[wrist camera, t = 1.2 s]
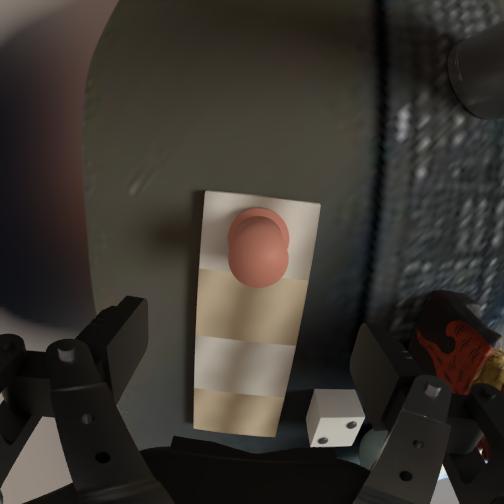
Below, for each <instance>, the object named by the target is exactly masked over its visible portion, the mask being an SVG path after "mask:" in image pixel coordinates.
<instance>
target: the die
mask: <svg viewBox="0 0 504 504" xmlns="http://www.w3.org/2000/svg"><path fill="white" fill-rule="evenodd" d="M364 419H365V415H364V412H363V410H362V407H361V404H360V402H359V399H358V396H357V394H356V391H355V390H342V389H314V393H313V396H312V399H311V403H310V406H309V409H308V413H307V416H306V423H307V430H308V436H309V442H310V447H338V446H352V444H353V442H354V440H355V438H356V436H357V434H358V432H359V430H360V427H361V425H362V423H363V421H364Z"/></svg>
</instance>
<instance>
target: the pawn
mask: <svg viewBox="0 0 504 504" xmlns="http://www.w3.org/2000/svg"><path fill="white" fill-rule="evenodd" d="M228 245H229V249H230V251H229V255H228V263H229V267H230V270H231V272H232V274H233V275H234V277H235V278H236V279H237V280H238V281H239V282H241V283H242V284H244V285H246V286H249V287H253V288H264V287H268V286H271V285H273V284H275V283H276V282H278V281H279V280H280V279H281V278H282V277H283V275H284V274H285V272H286V270H287V267H288V262H289V255H288V251H287V249H288V246H289V232H288V228H287V226H286V224H285V222H284V220H283V219H282V218H281V217H280V216H279V215H278V214H277V213H276V212H274V211H272V210H270V209H267V208H262V207H255V208H250V209H247V210H245V211H243V212H242V213H240V214H239V215H238V216H237V217H236V218H235V219H234V221H233V222H232V224H231V226H230V229H229V232H228Z"/></svg>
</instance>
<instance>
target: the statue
mask: <svg viewBox="0 0 504 504" xmlns="http://www.w3.org/2000/svg"><path fill="white" fill-rule="evenodd" d="M459 284H460V283H459ZM480 310H481V308H480V305H479V304H478V303H477V302H476V301H475V300H473V299H471V298H470V297H469V296H467V295H464V294H462V293H461V294H460V293H455V292H451V291H445V290H439V291H435V292H433V293H432V294H431V295H430V296H429V298H428V299H427V301H426V302H425V305H424V307H423V309H422V311H421V313H420V317H419V319H418V321H417V324H416V326H415V328H414V331H413V334H412V338H411V340H410V343H409V347H408V353H409V354H410V355H411V356H412V359H414V360H415V362H416V363H417V365H418V366H419V367H420V369H421V370H422V371H423V373H424V374H425V375H432V376H436V377H438V378H441V379H442V380H444V381H445V382H447V383H448V384H449V386H450V387H451V389H452V393H455V394H463V395H468V394H469V392H470V390H471V388H472V386H473V385H474V384H476V383H487V384H490V385H492V386H494V387H496V388H497V389H498V390H499V391H500V392H501V393H502V394H503V395H504V353H503V351H502V347H501V346H502V336H501V335H500V334H498V333H497V332H496V331H494V330H491V329H489V328H488V325H487V324H485V323H482V321H481V320H479V314H480ZM476 447H477V449H478V450H479V451H480V450H483V451H482V458H483V459H484V461H489V460H490V458H491V454H492V448H491V445H490V444H489V442H488V440H487V439H486V437H485V435H483V436H482V438H481V439H480V441H479V442H478V444H477V445H476Z"/></svg>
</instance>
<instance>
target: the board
mask: <svg viewBox="0 0 504 504" xmlns="http://www.w3.org/2000/svg"><path fill="white" fill-rule="evenodd" d="M320 206H321V204H319V203H315V202H308V201H300V200H293V199H285V198H277V197H269V196H260V195H252V194H243V193H233V192H224V191H213V190H206V191H205V199H204V210H203V222H202V235H201V248H200V263H199V278H198V296H197V315H196V339H195V371H194V429H200V430H207V431H214V432H222V433H231V434H241V435H252V436H265V437H275V434H276V430H277V426H278V422H279V418H280V414H281V410H282V406H283V402H284V398H285V393H286V389H287V385H288V380H289V376H290V371H291V367H292V362H293V357H294V353H295V348H296V343H297V338H298V333H299V328H300V323H301V318H302V313H303V308H304V303H305V297H306V292H307V286H308V281H309V275H310V269H311V263H312V257H313V251H314V245H315V239H316V233H317V226H318V220H319V213H320ZM255 207H262V208H267V209H270V210H272V211H274V212H276V213H277V214H278V215H279V216H280V217H281V218H282V219H283V220H284V222H285V224H286V226H287V228H288V232H289V246H288V249H287V251H288V255H289V262H288V267H287V270H286V272H285V274H284V275H283V277H282V278H281V279H280V280H279V281H278V282H276V283H275V284H273V285H271V286H268V287H264V288H253V287H249V286H246V285H244V284H242V283H241V282H239V281H238V280H237V279H236V278H235V277H234V275H233V274H232V272H231V270H230V267H229V263H228V255H229V251H230V249H229V245H228V232H229V229H230V226H231V224H232V222H233V221H234V219H235V218H236V217H237V216H238V215H239V214H240V213H242V212H243V211H245V210H247V209H250V208H255Z"/></svg>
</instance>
